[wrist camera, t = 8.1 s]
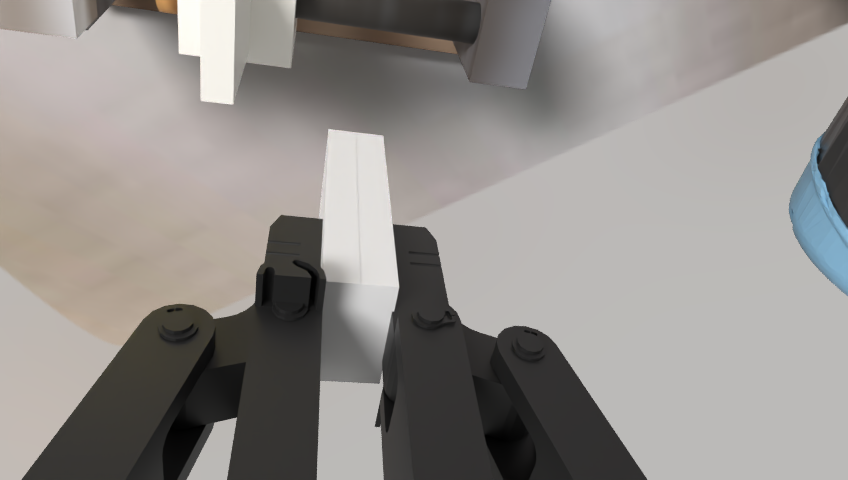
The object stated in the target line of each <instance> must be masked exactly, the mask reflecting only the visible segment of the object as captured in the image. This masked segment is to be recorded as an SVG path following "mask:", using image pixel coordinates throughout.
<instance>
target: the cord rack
mask: <svg viewBox="0 0 848 480" xmlns="http://www.w3.org/2000/svg"><path fill="white" fill-rule="evenodd" d="M550 2H551V0H296V13H295V18H297V29H296V31H299V32H306V33H313V34H320V35H327V36H334V37H341V38H348V39H355V40H362V41H369V42H376V43H383V44H390V45H397V46H404V47H411V48H418V49H425V50H432V51H439V52H446V53H453V54H458V55H459V58H460V60H461V63H462V65H463V67H464V70H465V72H466V74H467V77H468V79H469V81H470V82H474V83H481V84H489V85H496V86H504V87H511V88H518V89H526V88H527V84H528V80H529V77H530V73H531V70H532V66H533V63H534V59H535V56H536V52H537V49H538V45H539V41H540V38H541V34H542V31H543V27H544V24H545V20H546V17H547V13H548V10H549V6H550ZM111 5H117V6H124V7H131V8H138V9H145V10H152V11H159V12H164V13H171V14H178V4H177V0H0V29H5V30H13V31H21V32H28V33H36V34H43V35H51V36H58V37H66V38H73V39H77V38H78V37H79V36H80V35H81V34H82V33H83V32H84V31H85V30H88V29H89V28H90V27H91V26H92V25H93V24H94V23H95V22H96V21H97V20H98V19H99V17H100V16H101V15H102V14H103V13H104V12H105V11H106V10H107V9H108V8H109V7H110V6H111Z"/></svg>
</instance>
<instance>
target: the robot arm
mask: <svg viewBox="0 0 848 480" xmlns="http://www.w3.org/2000/svg"><path fill="white" fill-rule="evenodd" d="M789 214H790V218H791V222H792V224H793V231H794V234H795V236H796V238H797V240H798V242H799V244H800V245H801V247H802V249H803V250H804V252H805V253H806V255H807V256H808V257H809V258H810V260H811V261H812V262H813V264H814V265H815V266H816V267H817V268H818V269H819V270H820V271H821V272H822V273H823V274H824V275H825V276H826V277H827V278H828V279H829V280H830V281H831V282H832V283H833V284H835V286H837V287H838V288H839V289H840V290H841V291H842V292H843V293H845V294H846V295H847V296H848V97H847V99H846V100H845V102H844V104H843V105H842V107H841V108H840V110H839V111H838V113H837V115H836V116H835V118H834V119H833V121H832V123H831V124H830V126H829V127H828V129H827V130H826V132H824V133H823V134H822V136H820V137H819V138H818V139H817V141H816V142H815V144H814V146H813V149H812V153H811V159H810V162H809V163H808V165H807V167H806V168H805V170H804V172H803V174H802V176H801V178H800V179H799V181H798V183H797V185H796V187H795V188H794V190H793V193H792V195H791V198H790V203H789ZM382 370H383V390H382V395H381V400H380V405H379V409H378V414H377V419H376V424H375V427H380V425H381V434H382V452H383V472H384V480H647V478H646V477H645V476H644V474H643V473H642V471H641V470H640V468H639V467H638V465H637V464H636V462H635V461H634V459H633V458H632V456H631V455H630V453H629V452H628V451H627V449H626V447H625V446H624V444H623V443H622V441H621V440H620V438H619V437H618V436H617V434H616V433H615V431H614V430H613V428H612V427H611V425H610V424H609V422H608V421H607V420H606V418H605V416H604V415H603V413H602V412H601V410H600V409H599V407H598V406H597V404H596V403H595V401H594V400H593V399H592V397H591V396H590V394H589V393H588V391H587V390H586V388H585V387H584V386H583V384H582V382H581V381H580V379H579V378H578V376H577V375H576V374H575V372H574V370H573V369H572V367H571V366H570V364H569V363H568V361H567V360H566V359H565V357H564V356H563V354H562V353H561V351H560V350H559V348H558V347H557V345H556V344H555V343H554V342H553V341H552V340H551V339H550V338H549V337H548V336H547V335H545V334H543V333H542V332H540V331H538V330H536V329H532V328H529V327H526V326H513V327H509V328H506V329H504V330H503V331H502V332H501V333H500V334H499V335H498V338H495V337H492V336H489V335H486V334H482V333H479V332H477V331H474V330H472V329H469V328H468V327H466V326H465V325H463V324H461V321H460V318H459V316H458V314H457V312H456V311H454V309H453V308H452V307H450V306H449V304H448V299H447V294H446V289H445V284H444V278H443V273H442V268H441V263H440V258H439V252H438V247H437V242H436V240H435V238H434V237H433V236H432V235H431V233H430V232H429V231H428V230H427V229H426V228H425V227H414V226H404V225H394V224H392V214H391V205H390V195H389V186H388V176H387V167H386V158H385V148H384V139H383V136H382V135H374V134H365V133H357V132H349V131H340V130H332V129H328V138H327V148H326V157H325V166H324V175H323V184H322V193H321V203H320V212H319V219H316V218H306V217H295V216H285V215H281V216H280V217H279V218H278V219H277V220H276V221H275V222H274V223H273V224H272V225H271V226H270V231H269V237H268V244H267V250H266V256H265V262H264V264H262V265H261V266H260V268H259V270H258V272H257V276H256V297H255V303H254V304H253V305H252V306H251V307H250V308H248V309H247V310H246V311H243V312H241V313H239V314H237V315H233V316H229V317H224V318H218V319H213V317H212V316H211V315H210V314H209V313H208V312H207V311H206V310H204V309H202V308H199V307H197V306H194V305H186V304H175V305H168V306H164V307H162V308H159V309H157V310H155V311H152V312H151V313H150V314H149V315H148V316H147V317H146V318H144V319H143V321H142V322H141V323H140V325H139V326H138V327H137V328H136V330H135V331H134V332H133V334H132V335H131V336H130V338H129V339H128V340H127V342H126V343H125V344H124V346H123V347H122V348H121V350H120V351H119V352H118V353H117V355H116V356H115V358H114V359H113V360H112V361H111V363H110V364H109V365H108V367H107V368H106V369H105V371H104V372H103V373H102V375H101V376H100V377H99V378H98V380H97V381H96V382H95V384H94V385H93V386H92V388H91V389H90V390H89V392H88V393H87V394H86V396H85V397H84V398H83V399H82V401H81V402H80V403H79V405H78V406H77V407H76V409H75V410H74V411H73V413H72V414H71V415H70V417H69V418H68V419H67V421H66V422H65V423H64V425H63V426H62V427H61V428H60V430H59V431H58V433H57V434H56V435H55V436H54V438H53V439H52V440H51V442H50V443H49V444H48V446H47V447H46V448H45V449H44V451H43V452H42V454H41V455H40V456H39V458H38V459H37V460H36V461H35V463H34V464H33V465H32V467H31V468H30V469H29V471H28V472H27V473H26V475H25V476H24V477H23V478H22V480H186V479H187V477H188V476H189V473H190V472H191V470H192V468H193V466H194V464H195V462H196V459H197V458H198V456H199V454H200V452H201V450H202V448H203V446H204V444H205V443H206V441H207V439H208V437H209V435H210V433H211V431H212V429H213V425H214V422H218V421H223V420H227V419H231V418H236V417H237V421H236V428H235V434H234V440H233V446H232V453H231V459H230V465H229V471H228V477H227V480H317V451H318V424H319V423H318V422H319V395H320V381H338V382H358V383H378V384H379V383H380V379H381V374H382Z"/></svg>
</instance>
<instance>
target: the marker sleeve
mask: <svg viewBox="0 0 848 480" xmlns="http://www.w3.org/2000/svg"><path fill="white" fill-rule="evenodd" d="M177 4H178V39H179V54H185V55H192V56H200V81H201V101H207V102H215V103H223V104H232V105H233V104H234V100H235V97H236V94H237V90H238V87H239V84H240V81H241V77H242V74H243V71H244V67H245V64H246V63H253V64H261V65H268V66H276V67H284V68H291V64H292V58H293V51H294V44H295V37H296V29H297V18H295V13H296V0H177Z"/></svg>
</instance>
